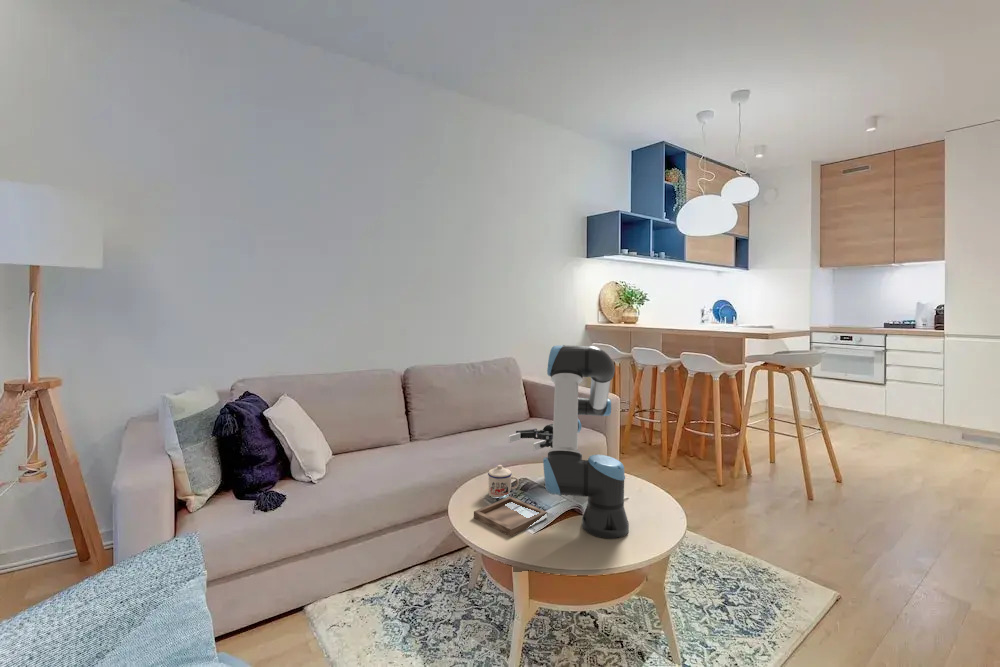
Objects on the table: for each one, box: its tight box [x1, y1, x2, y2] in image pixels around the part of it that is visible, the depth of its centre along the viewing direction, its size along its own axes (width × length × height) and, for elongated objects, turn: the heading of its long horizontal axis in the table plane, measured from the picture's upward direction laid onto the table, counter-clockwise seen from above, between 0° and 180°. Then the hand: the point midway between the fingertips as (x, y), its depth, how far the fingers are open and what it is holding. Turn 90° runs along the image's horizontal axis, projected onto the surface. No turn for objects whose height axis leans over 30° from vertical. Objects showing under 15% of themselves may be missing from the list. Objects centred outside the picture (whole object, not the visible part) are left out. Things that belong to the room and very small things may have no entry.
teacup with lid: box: [487, 464, 520, 498], centre depth 181 cm, size 12×9×12 cm
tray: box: [473, 496, 548, 537], centre depth 162 cm, size 18×18×2 cm
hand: (521, 443), depth 187 cm, fingers open, 13 cm apart
